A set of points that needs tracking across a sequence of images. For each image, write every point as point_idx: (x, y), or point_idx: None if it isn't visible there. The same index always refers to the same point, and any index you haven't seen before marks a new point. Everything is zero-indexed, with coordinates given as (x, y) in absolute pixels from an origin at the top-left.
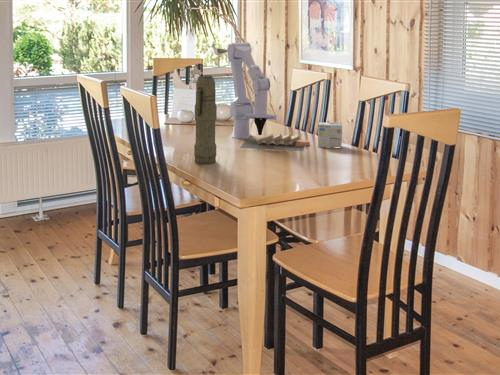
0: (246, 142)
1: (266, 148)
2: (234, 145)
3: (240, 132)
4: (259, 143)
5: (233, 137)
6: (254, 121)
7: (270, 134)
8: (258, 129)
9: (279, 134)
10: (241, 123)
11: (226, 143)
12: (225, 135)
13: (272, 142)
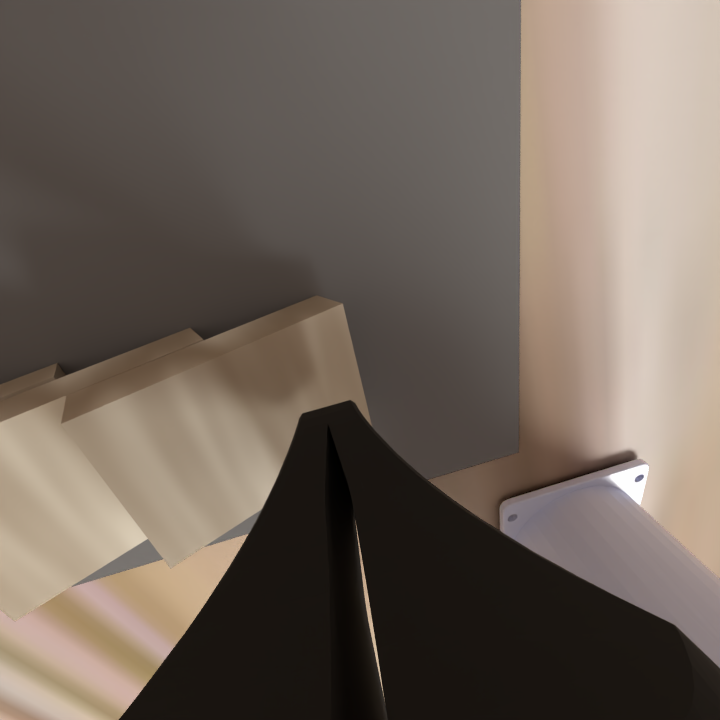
0: (488, 345)
1: (32, 52)
2: (611, 134)
3: (615, 529)
4: (297, 305)
5: (634, 464)
6: (705, 659)
7: (192, 540)
8: (366, 459)
9: (25, 591)
10: (707, 640)
11: (704, 215)
12: (684, 510)
13: (92, 368)
